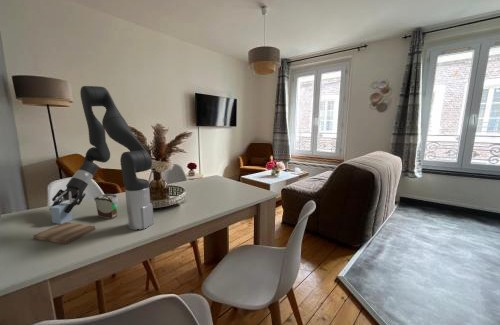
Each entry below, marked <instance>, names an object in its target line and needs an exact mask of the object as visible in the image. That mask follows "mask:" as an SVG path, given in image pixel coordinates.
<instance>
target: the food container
mask: <svg viewBox="0 0 500 325" xmlns="http://www.w3.org/2000/svg"><path fill="white" fill-rule="evenodd" d="M93 201H94V202H95V206H96V212H97V216H98V217H101V218H106V219H110V220H113V219H115V218H117V216H118V201H119V198H118V195H117V194H113V193H104V194H99V195H95V196H94V198H93Z"/></svg>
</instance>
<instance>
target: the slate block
mask: <svg viewBox="0 0 500 325" xmlns="http://www.w3.org/2000/svg"><path fill="white" fill-rule="evenodd" d="M68 204H69V203H63V202H62V203H60V204H59V205H56V206H53V207H51V206H50V207H49V210H50V209H51V210H50V214H51V220H52V224H56V225H60V224H62V223H65V222H69V221H72V220H73V215H72V210H71V211H70V212H69V213H65V212H64V210H65V209H66V207H67V206H68Z"/></svg>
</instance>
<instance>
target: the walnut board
mask: <svg viewBox="0 0 500 325" xmlns="http://www.w3.org/2000/svg"><path fill="white" fill-rule="evenodd" d="M94 230H96V226H95V225H88V224H82V223H75V222H69V221H67V222H65V223H62V224H56V225H55V226H52V227H50V228H48V229H45V230H43V231H41V232H38V233H35V234H34V235H33V239H34V240H40V241H46V242H50V243H51V242H53V243H57V244H64V245H67V244H68V243H71V242H73V241H75V240H77V239H79V238H81V237H83V236H84V235H87V234H90V232H93V231H94Z"/></svg>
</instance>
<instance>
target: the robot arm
mask: <svg viewBox="0 0 500 325" xmlns="http://www.w3.org/2000/svg"><path fill="white" fill-rule="evenodd" d="M79 93H80V94H79V95H80V100H81V104H82V109H83V112H84V116H85V120H86V124H87V129H88V139H89V144H90V145H91V146H93V147H90V148H89V149H88V150H87V151H86V153H85V157H84V159H83V162H82V164H81V166H80V167H79V168H78V170H76V172H75V173H74V174H73V175H72V176H71V178H70V179H69V181H68V182H67V184H66V185H65V186H66V189H65V190H63V189H58V191H57V193H56V194H55V195H54V196H53V197H52V199H51V201H53V203H52V205H51V206H50V207H53V206H56V205H59V204H62V203H63V202H66V201H69V203H67V204H68V206H67V207H66V209H65V210H64V212H65V213H69V212H70V211H71V212H72V210H73V209H74V207H76V206H79V205H81V203H82V201H83V199H84V198H85V196H86V193H85V192H84V191H85V190H86V188H88V186H89V184H90V183H91V182H92V180H93V177H94V176H95V174H96V173H97V172H98V169H99V166H98V165H97V164H96V163H94V162H99V163H107V162H109V160H110V158H111V151H110V148H109V146H108V143H107V141H106V135H107V136H108V137H109V138H110V139H112V140H113V141H114V142H116V143H118V144H119V145H121V146H123V147H124V148H126V149H128V151H125V152H123V153H121V156H120V168H121V172H122V173H121V176H122V179H123V180H122V181H123V184H124V192H125V202H126V212H127V213H126V214H127V222H128V228H129V229H130V230H132V231H133V230H134V231H135V230H136V231H138V230H137V229H139V230H145V228H146V229H148V228H149V227H150V226H152V225H153V224H154V222H155V220H154V207H153V203H152V202H151V195H150V183H149V182H150V181H149V180H147V179H145V178H138V176H137V173H141V172H142V173H143V172H147V171H149V170H151V168H152V167H153V160H152V157H151V155H150V153H149V152H148V151H147V149H145V147H144V146H143V144H142V143H141V142H140V140H138V138H137V137H136V136H135V134H134V133H133V131H132V129H131V127H130V126H129V125H128V123H127V121H126V120H125V118H124V117H123V116H122V113H121V112H120V111H119V109H118V107H117V105H116V104H115V102H114V100H113V98H112V96H111V94H110V92H109V90H108V89H107V88H106V87H105V86H98V85H97V86H95V85H93V86H92V85H83V86H82V87H81V88H80V92H79ZM93 107H104V108H105V113H104V115H103V116H102V120H101V121H102V122H100V120H99V119H98V118H97V117H96V116H95V114H94V111H93ZM49 211H51V209H50V208H49ZM148 226H149V227H148Z"/></svg>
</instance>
